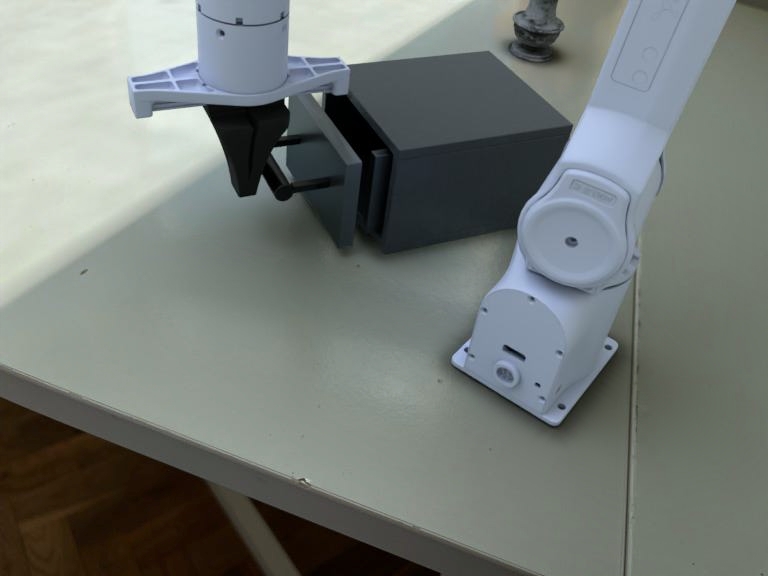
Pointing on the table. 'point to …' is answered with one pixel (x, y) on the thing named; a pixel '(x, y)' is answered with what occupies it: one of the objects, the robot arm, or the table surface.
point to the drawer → (334, 165)
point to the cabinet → (456, 144)
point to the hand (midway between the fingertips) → (243, 188)
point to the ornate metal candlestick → (536, 31)
